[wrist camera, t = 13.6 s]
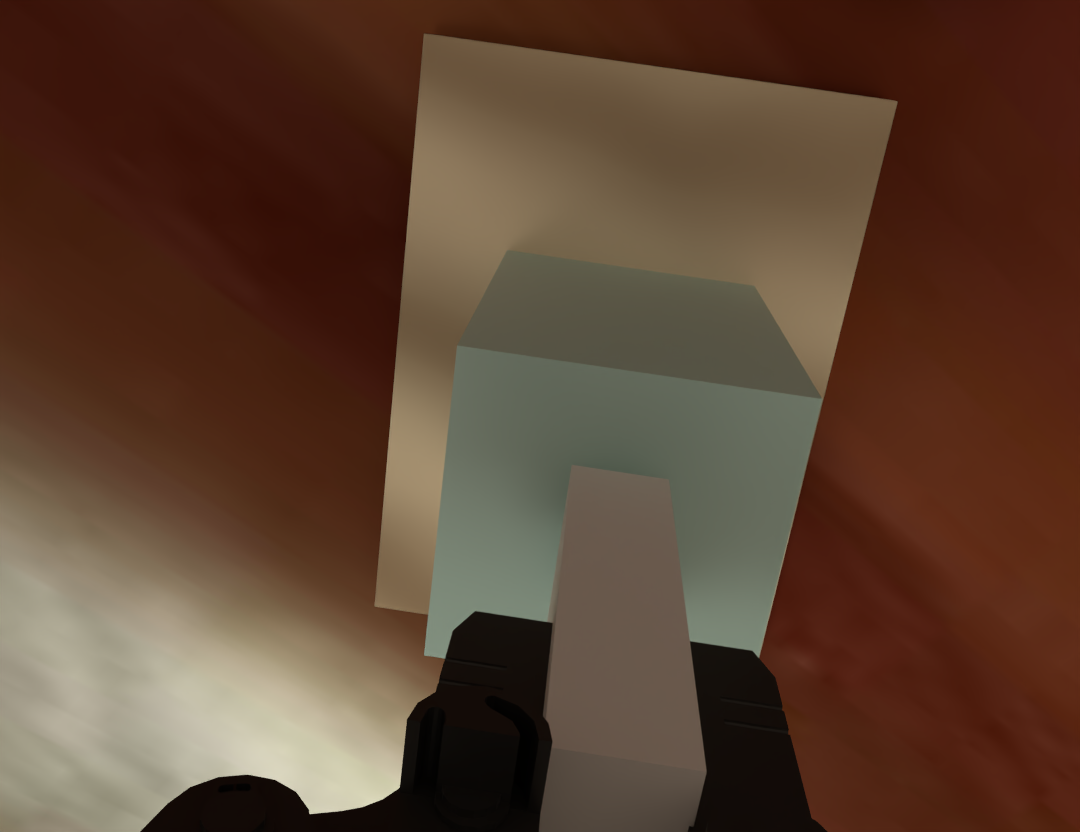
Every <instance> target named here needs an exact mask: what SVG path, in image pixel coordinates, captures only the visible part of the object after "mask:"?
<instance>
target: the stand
mask: <svg viewBox="0 0 1080 832" xmlns="http://www.w3.org/2000/svg"><path fill="white" fill-rule="evenodd" d="M897 102H898V101H893V100H888V99H882V98H875V97H868V96H861V95H854V94H847V93H840V92H833V91H826V90H819V89H812V88H805V87H798V86H791V85H784V84H777V83H770V82H763V81H757V80H750V79H743V78H736V77H729V76H722V75H715V74H708V73H701V72H694V71H687V70H680V69H673V68H666V67H659V66H652V65H645V64H638V63H631V62H624V61H617V60H610V59H603V58H596V57H589V56H582V55H575V54H568V53H561V52H554V51H547V50H540V49H533V48H526V47H519V46H512V45H505V44H498V43H491V42H484V41H477V40H470V39H463V38H456V37H449V36H442V35H435V34H424V38H423V50H422V62H421V73H420V85H419V96H418V108H417V120H416V131H415V143H414V154H413V166H412V178H411V189H410V201H409V213H408V224H407V236H406V247H405V259H404V271H403V282H402V294H401V305H400V317H399V329H398V340H397V352H396V363H395V375H394V387H393V398H392V410H391V422H390V433H389V445H388V456H387V468H386V480H385V491H384V503H383V514H382V526H381V538H380V549H379V561H378V572H377V584H376V596H375V607H381V608H388V609H394V610H401V611H407V612H414V613H420V614H427V615H428V614H429V604H430V595H431V585H432V576H433V567H434V557H435V548H436V538H437V529H438V520H439V510H440V501H441V492H442V482H443V473H444V463H445V454H446V445H447V435H448V426H449V417H450V407H451V398H452V388H453V379H454V370H455V360H456V351H457V345H458V343H459V341H460V339H461V337H462V335H463V333H464V331H465V329H466V328H467V326H468V324H469V322H470V320H471V318H472V316H473V314H474V312H475V310H476V309H477V307H478V305H479V303H480V301H481V299H482V297H483V295H484V293H485V291H486V289H487V288H488V286H489V284H490V282H491V280H492V278H493V276H494V274H495V272H496V270H497V269H498V267H499V265H500V263H501V261H502V259H503V257H504V255H505V253H506V251H507V250H510V251H517V252H524V253H531V254H538V255H545V256H552V257H558V258H565V259H572V260H579V261H586V262H593V263H600V264H607V265H614V266H621V267H627V268H634V269H641V270H648V271H655V272H662V273H669V274H676V275H683V276H689V277H696V278H703V279H710V280H717V281H724V282H731V283H738V284H745V285H752V286H755V287H756V289H757V291H758V292H759V294H760V296H761V297H762V299H763V301H764V302H765V304H766V306H767V307H768V309H769V311H770V312H771V314H772V316H773V317H774V319H775V321H776V322H777V324H778V326H779V327H780V329H781V331H782V332H783V334H784V336H785V338H786V339H787V341H788V343H789V344H790V346H791V348H792V349H793V351H794V353H795V354H796V356H797V358H798V359H799V361H800V363H801V364H802V366H803V368H804V369H805V371H806V373H807V374H808V376H809V378H810V379H811V381H812V383H813V384H814V386H815V388H816V389H817V391H818V393H819V394H820V396H821V398H822V403H823V399H824V395H825V391H826V387H827V383H828V379H829V375H830V371H831V367H832V363H833V359H834V355H835V351H836V347H837V343H838V339H839V335H840V331H841V327H842V323H843V319H844V315H845V311H846V307H847V303H848V299H849V295H850V291H851V287H852V283H853V279H854V274H855V270H856V266H857V262H858V258H859V254H860V250H861V246H862V242H863V238H864V234H865V230H866V226H867V222H868V218H869V214H870V210H871V206H872V202H873V198H874V194H875V190H876V186H877V182H878V178H879V174H880V170H881V166H882V162H883V158H884V154H885V150H886V146H887V142H888V138H889V134H890V130H891V126H892V122H893V118H894V114H895V110H896V106H897ZM822 403H821V407H822ZM821 407H820V411H821ZM820 411H819V415H820ZM819 415H818V419H819ZM818 419H817V423H818ZM817 423H816V427H817ZM816 427H815V431H816ZM814 435H815V432H814ZM813 439H814V436H813ZM812 443H813V440H812ZM811 447H812V444H811ZM810 451H811V448H810ZM809 455H810V452H809ZM808 459H809V456H808ZM807 463H808V460H807ZM806 467H807V464H806ZM805 471H806V468H805ZM804 475H805V472H804ZM803 479H804V476H803ZM802 483H803V480H802ZM801 487H802V484H801ZM800 491H801V488H800ZM799 495H800V492H799ZM798 499H799V496H798ZM797 503H798V500H797ZM796 507H797V504H796ZM795 511H796V509H795ZM794 515H795V513H794ZM793 519H794V517H793ZM792 523H793V521H792ZM791 527H792V525H791ZM790 531H791V529H790ZM789 535H790V533H789ZM788 540H789V537H788ZM787 544H788V541H787ZM786 548H787V545H786ZM785 552H786V549H785ZM784 556H785V553H784ZM783 560H784V557H783ZM782 564H783V561H782ZM781 568H782V565H781ZM780 572H781V569H780ZM779 576H780V573H779ZM778 580H779V577H778ZM777 584H778V581H777ZM776 588H777V585H776ZM775 592H776V590H775ZM774 596H775V594H774ZM773 600H774V598H773ZM772 604H773V602H772ZM771 608H772V606H771ZM770 612H771V610H770ZM769 616H770V614H769ZM768 620H769V618H768ZM767 624H768V622H767ZM766 628H767V626H766ZM765 632H766V630H765ZM764 636H765V634H764ZM763 640H764V638H763ZM762 644H763V642H762ZM761 648H762V646H761ZM760 652H761V650H760ZM759 656H760V654H759Z"/></svg>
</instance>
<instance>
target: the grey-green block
mask: <svg viewBox="0 0 1080 832" xmlns="http://www.w3.org/2000/svg"><path fill="white" fill-rule="evenodd" d="M821 403H822V398H821V396H820V394H819V393H818V391H817V389H816V388H815V386H814V384H813V383H812V381H811V379H810V378H809V376H808V374H807V373H806V371H805V369H804V368H803V366H802V364H801V363H800V361H799V359H798V358H797V356H796V354H795V353H794V351H793V349H792V348H791V346H790V344H789V343H788V341H787V339H786V338H785V336H784V334H783V332H782V331H781V329H780V327H779V326H778V324H777V322H776V321H775V319H774V317H773V316H772V314H771V312H770V311H769V309H768V307H767V306H766V304H765V302H764V301H763V299H762V297H761V296H760V294H759V292H758V291H757V289H756V287H755V286H752V285H745V284H738V283H731V282H724V281H717V280H710V279H703V278H696V277H689V276H683V275H676V274H669V273H662V272H655V271H648V270H641V269H634V268H627V267H621V266H614V265H607V264H600V263H593V262H586V261H579V260H572V259H565V258H558V257H552V256H545V255H538V254H531V253H524V252H517V251H510V250H507V251H506V253H505V255H504V257H503V259H502V261H501V263H500V265H499V267H498V269H497V270H496V272H495V274H494V276H493V278H492V280H491V282H490V284H489V286H488V288H487V289H486V291H485V293H484V295H483V297H482V299H481V301H480V303H479V305H478V307H477V309H476V310H475V312H474V314H473V316H472V318H471V320H470V322H469V324H468V326H467V328H466V329H465V331H464V333H463V335H462V337H461V339H460V341H459V343H458V345H457V351H456V360H455V370H454V379H453V388H452V398H451V407H450V417H449V426H448V435H447V445H446V454H445V463H444V473H443V482H442V492H441V501H440V510H439V520H438V529H437V538H436V548H435V557H434V567H433V576H432V585H431V595H430V604H429V614H428V623H427V632H426V642H425V651H424V655H426V656H432V657H439V658H445V657H446V653H447V649H448V646H449V642H450V639H451V635H452V631H453V630H454V629H455V628H456V627H458V626H459V625H460V624H461V623H462V622H463V621H464V620H465V619H467V618H468V617H469V616H470V615H471V614H472V613H473V612H474V611H479V612H485V613H492V614H498V615H505V616H511V617H518V618H524V619H531V620H537V621H544V622H547V618H548V612H549V605H550V599H551V593H552V586H553V580H554V574H555V567H556V561H557V555H558V548H559V542H560V536H561V529H562V523H563V517H564V510H565V504H566V498H567V491H568V485H569V479H570V472H571V466H572V465H577V466H583V467H590V468H596V469H603V470H610V471H616V472H623V473H630V474H636V475H643V476H649V477H656V478H663V479H669V483H670V491H671V499H672V507H673V514H674V522H675V530H676V538H677V546H678V553H679V561H680V569H681V577H682V584H683V592H684V600H685V608H686V615H687V623H688V631H689V639H690V641H693V642H699V643H706V644H712V645H719V646H725V647H732V648H738V649H744V650H751V651H753V652H754V653H755V654H756V655H757V657H758V658H759V654H760V650H761V646H762V642H763V638H764V634H765V630H766V626H767V622H768V618H769V614H770V610H771V606H772V602H773V598H774V594H775V590H776V585H777V581H778V577H779V573H780V569H781V565H782V561H783V557H784V553H785V549H786V545H787V541H788V537H789V533H790V529H791V525H792V521H793V517H794V513H795V509H796V504H797V500H798V496H799V492H800V488H801V484H802V480H803V476H804V472H805V468H806V464H807V460H808V456H809V452H810V448H811V444H812V440H813V436H814V432H815V427H816V423H817V419H818V415H819V411H820V407H821Z"/></svg>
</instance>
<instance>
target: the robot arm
mask: <svg viewBox="0 0 1080 832" xmlns="http://www.w3.org/2000/svg"><path fill="white" fill-rule="evenodd" d="M141 832H827V831H826V830H825V829H824V828H823V827H822V826H821V825H820V824H819V823H818V822H816V821H815V820H813V819H812V818H811V814H810V810H809V807H808V803H807V799H806V795H805V791H804V787H803V783H802V779H801V776H800V772H799V768H798V764H797V760H796V756H795V752H794V748H793V745H792V741H791V737H790V735H788V725H787V721H786V717H785V713H784V711H782V702H781V698H780V694H779V690H778V686H777V682H776V679H775V677H774V676H773V674H772V673H771V672H770V671H769V670H768V668H767V667H766V666H765V665H764V664H763V663H762V661H761V660H760V659H759V658H758V657H757V655H756V654H755V653H754V652H753V651H751V650H744V649H738V648H732V647H725V646H719V645H712V644H706V643H699V642H693V641H690V639H689V631H688V623H687V615H686V608H685V600H684V592H683V584H682V577H681V569H680V561H679V553H678V546H677V538H676V530H675V522H674V514H673V507H672V499H671V491H670V483H669V479H663V478H656V477H649V476H643V475H636V474H630V473H623V472H616V471H610V470H603V469H596V468H590V467H583V466H577V465H572V466H571V472H570V479H569V485H568V491H567V498H566V504H565V510H564V517H563V523H562V529H561V536H560V542H559V548H558V555H557V561H556V567H555V574H554V580H553V586H552V593H551V599H550V605H549V612H548V618H547V622H544V621H537V620H531V619H524V618H518V617H511V616H505V615H498V614H492V613H485V612H479V611H474V612H473V613H472V614H471V615H470V616H469V617H468V618H467V619H465V620H464V621H463V622H462V623H461V624H460V625H459V626H458V627H456V628H455V629H454V630H453V631H452V635H451V639H450V642H449V646H448V649H447V653H446V657H445V662H444V664H443V667H442V671H441V675H440V679H439V684H438V685H437V689H436V692H435V693H433V694H432V695H430V696H428V697H427V698H425V699H423V700H422V701H420V702H419V703H417V705H416V707H415V708H414V710H413V711H412V713H411V714H410V716H409V717H408V719H407V726H406V736H405V745H404V755H403V764H402V774H401V783H400V788H399V789H398V790H396V791H395V792H393V793H392V794H390V795H389V796H387V797H386V798H384V799H383V800H380V801H378V802H375V803H373V804H370V805H367V806H365V807H362V808H356V809H351V810H345V811H339V812H329V813H318V814H309V809H308V808H307V807H306V805H305V804H304V802H303V801H302V800H301V798H300V797H299V796H298V794H297V793H296V792H295V791H293V790H292V789H290V788H288V787H286V786H284V785H283V784H281V783H279V782H277V781H276V780H272V779H267V778H262V777H257V776H251V775H239V776H228V777H218V778H215V779H212V780H209V781H207V782H204V783H201V784H198V785H195V786H193V787H190V788H189V789H187V790H186V791H185V792H183V793H182V794H180V795H179V796H178V797H176V798H175V799H174V800H172V801H171V802H169V803H168V804H167V805H166V806H165V807H164V808H163V809H162V810H161V811H160V812H159V813H158V814H157V815H156V816H155V817H154V818H153V819H152V820H151V821H150V822H149V823H148V824H147V825H146V826H145V827H144V828H143V829H142V831H141Z"/></svg>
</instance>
